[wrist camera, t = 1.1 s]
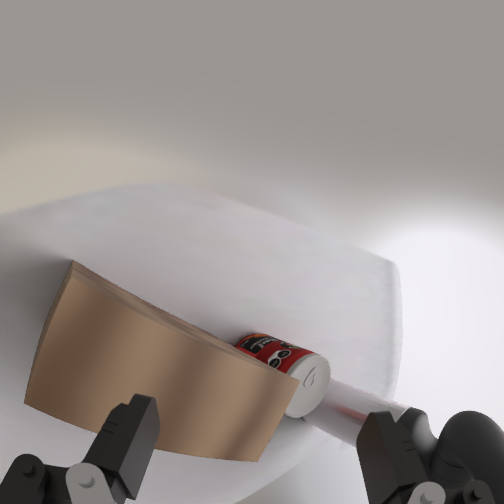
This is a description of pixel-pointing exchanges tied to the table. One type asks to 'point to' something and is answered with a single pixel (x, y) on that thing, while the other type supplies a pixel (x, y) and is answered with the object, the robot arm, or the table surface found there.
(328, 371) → the canned food
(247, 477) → the table surface
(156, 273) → the table surface
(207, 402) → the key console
